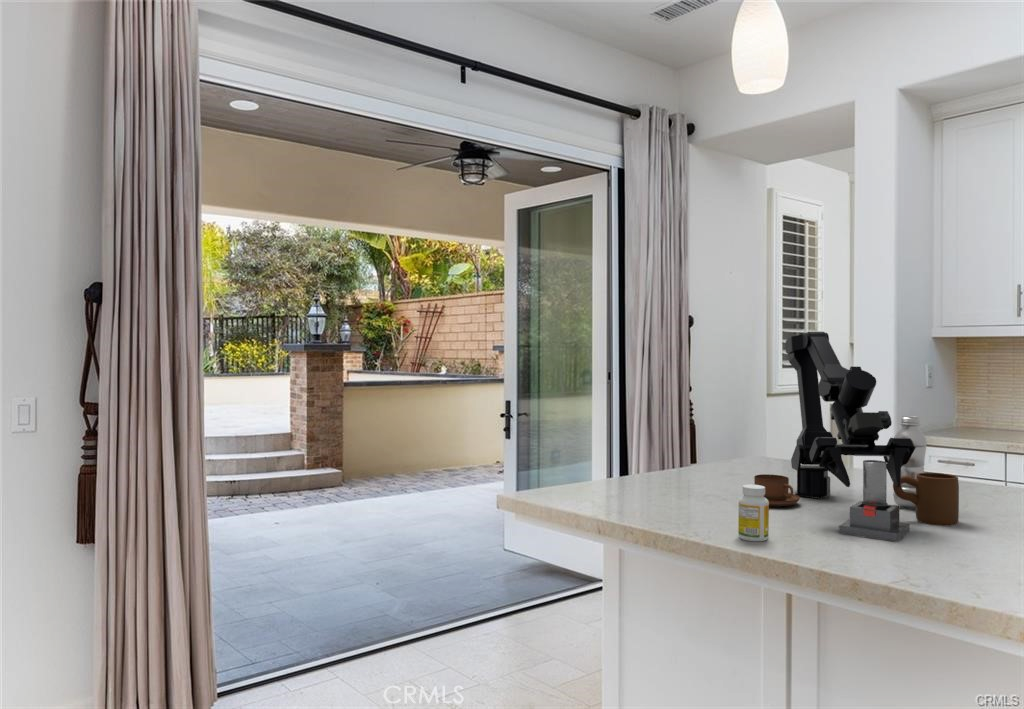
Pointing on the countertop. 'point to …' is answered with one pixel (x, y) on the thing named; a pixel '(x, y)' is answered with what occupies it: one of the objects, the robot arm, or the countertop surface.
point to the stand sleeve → (875, 523)
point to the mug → (933, 497)
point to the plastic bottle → (917, 458)
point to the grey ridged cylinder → (874, 483)
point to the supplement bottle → (753, 514)
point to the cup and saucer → (776, 489)
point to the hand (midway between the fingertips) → (873, 486)
